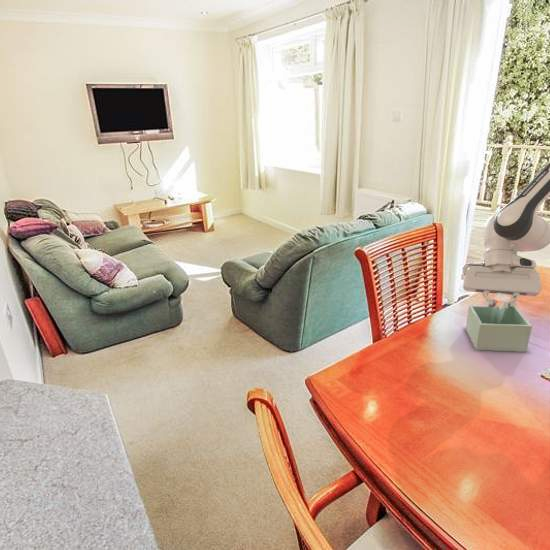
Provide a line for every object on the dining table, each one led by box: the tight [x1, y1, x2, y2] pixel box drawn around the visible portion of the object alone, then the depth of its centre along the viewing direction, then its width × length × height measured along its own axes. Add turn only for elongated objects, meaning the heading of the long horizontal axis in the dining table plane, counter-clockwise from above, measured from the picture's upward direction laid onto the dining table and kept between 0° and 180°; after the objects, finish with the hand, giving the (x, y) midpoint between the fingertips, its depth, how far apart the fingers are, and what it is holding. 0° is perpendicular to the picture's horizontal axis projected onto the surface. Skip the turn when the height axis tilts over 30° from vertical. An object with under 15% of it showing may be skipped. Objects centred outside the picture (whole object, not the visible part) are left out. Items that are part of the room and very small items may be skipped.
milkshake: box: [490, 293, 512, 324], centre depth 111 cm, size 5×5×10 cm
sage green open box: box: [465, 304, 533, 353], centre depth 114 cm, size 14×12×9 cm
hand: (501, 307), depth 111 cm, fingers closed on milkshake, 4 cm apart
